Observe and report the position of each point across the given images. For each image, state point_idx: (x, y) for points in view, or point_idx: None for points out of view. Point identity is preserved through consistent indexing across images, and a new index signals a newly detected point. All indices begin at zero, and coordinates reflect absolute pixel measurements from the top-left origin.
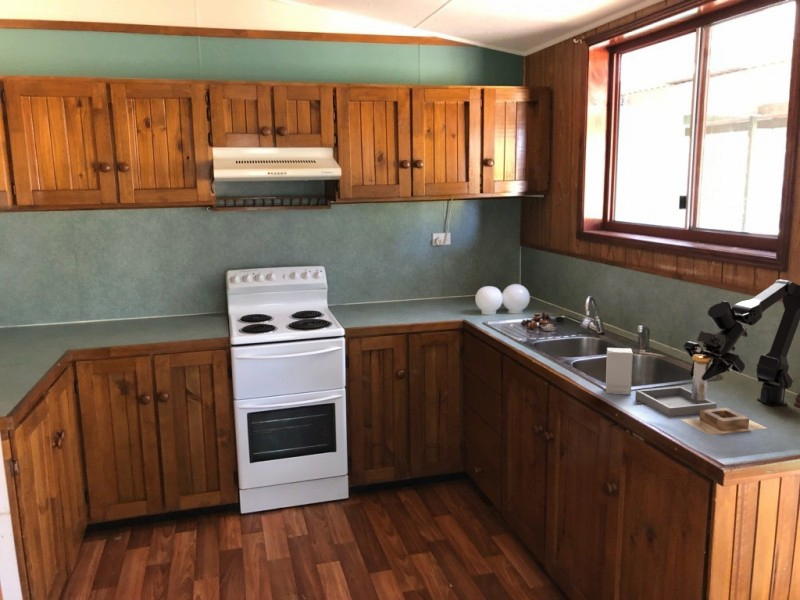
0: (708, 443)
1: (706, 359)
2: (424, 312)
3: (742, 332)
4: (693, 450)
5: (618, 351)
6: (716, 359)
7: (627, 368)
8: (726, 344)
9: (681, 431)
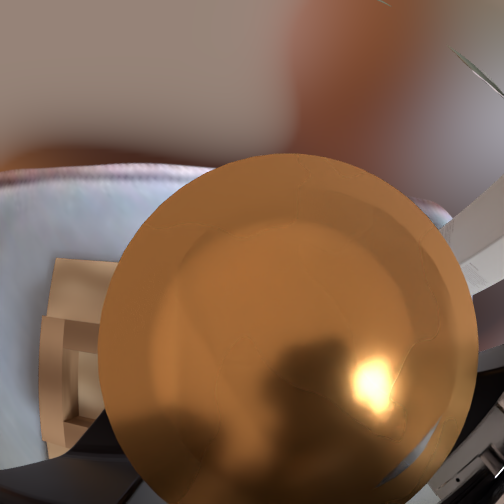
0: (41, 235)
1: (110, 284)
2: None
3: None
4: (41, 174)
5: None
6: (28, 485)
7: (488, 234)
8: None
9: (130, 223)
